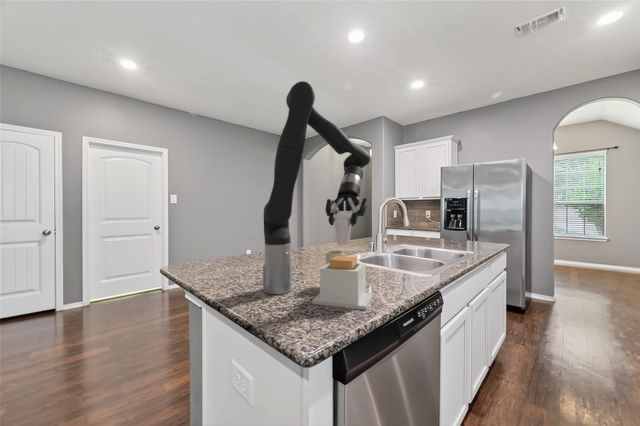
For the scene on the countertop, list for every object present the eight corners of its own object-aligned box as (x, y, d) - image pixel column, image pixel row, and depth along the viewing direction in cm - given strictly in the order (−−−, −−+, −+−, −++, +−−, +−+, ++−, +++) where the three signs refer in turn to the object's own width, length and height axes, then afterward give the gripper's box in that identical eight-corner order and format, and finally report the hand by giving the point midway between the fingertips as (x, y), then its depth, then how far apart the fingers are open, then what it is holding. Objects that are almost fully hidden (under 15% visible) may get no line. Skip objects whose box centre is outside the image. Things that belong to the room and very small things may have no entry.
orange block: (329, 283, 87) (329, 259, 86) (336, 277, 93) (335, 255, 93) (352, 285, 84) (351, 261, 84) (357, 279, 91) (356, 256, 91)
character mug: (349, 289, 100) (348, 254, 99) (330, 291, 98) (329, 255, 98) (340, 281, 110) (339, 249, 110) (323, 283, 109) (322, 250, 108)
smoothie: (354, 245, 85) (353, 200, 85) (333, 245, 85) (333, 200, 85) (352, 242, 92) (351, 201, 91) (333, 243, 92) (332, 201, 91)
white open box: (312, 303, 86) (311, 268, 85) (325, 291, 98) (325, 260, 98) (366, 309, 80) (366, 272, 80) (373, 296, 92) (373, 263, 92)
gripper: (328, 181, 98) (317, 215, 87) (368, 179, 93) (362, 216, 82) (333, 196, 103) (323, 231, 92) (371, 196, 98) (365, 232, 87)
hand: (341, 223), depth 87 cm, fingers closed on smoothie, 6 cm apart
